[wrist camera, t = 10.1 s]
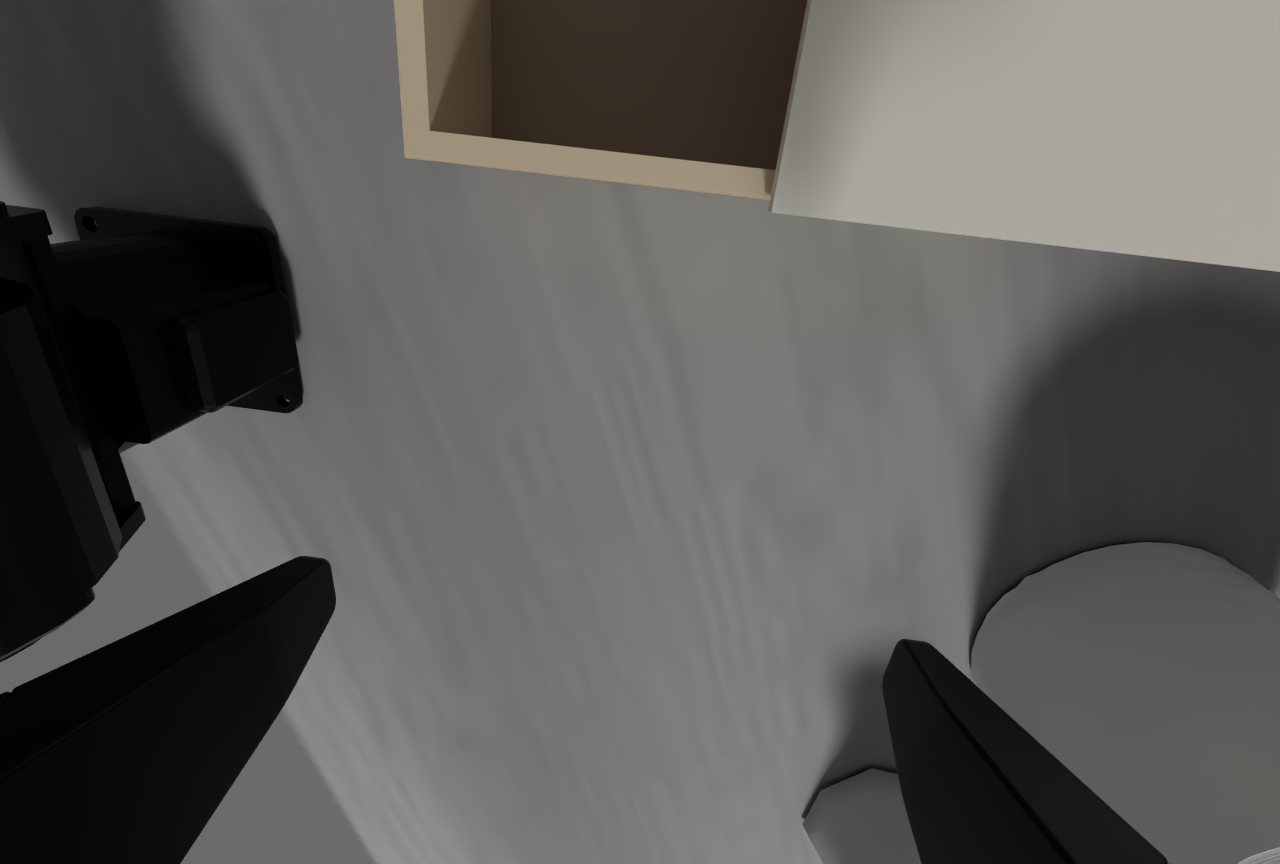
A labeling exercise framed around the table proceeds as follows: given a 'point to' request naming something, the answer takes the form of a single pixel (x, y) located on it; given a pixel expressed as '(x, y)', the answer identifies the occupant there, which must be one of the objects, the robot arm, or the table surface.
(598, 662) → the table surface
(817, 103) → the carton lid
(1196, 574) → the toilet tissue
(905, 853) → the flask
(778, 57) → the carton
